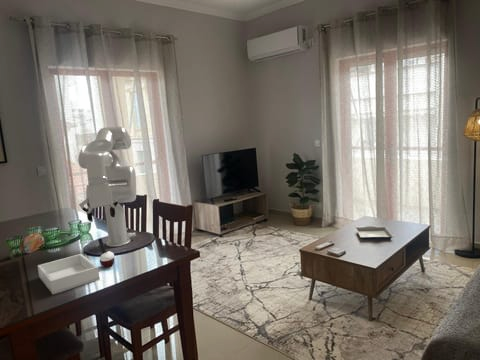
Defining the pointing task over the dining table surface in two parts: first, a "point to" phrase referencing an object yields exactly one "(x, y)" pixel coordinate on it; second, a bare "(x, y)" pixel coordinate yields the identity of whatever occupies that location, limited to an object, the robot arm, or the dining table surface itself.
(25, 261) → the dining table surface
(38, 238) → the tin
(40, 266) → the box
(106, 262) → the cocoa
